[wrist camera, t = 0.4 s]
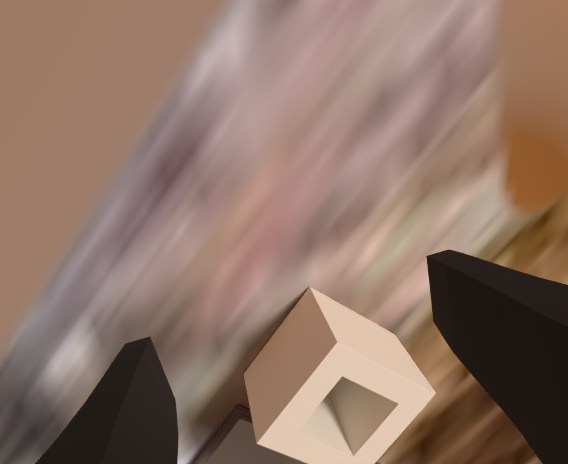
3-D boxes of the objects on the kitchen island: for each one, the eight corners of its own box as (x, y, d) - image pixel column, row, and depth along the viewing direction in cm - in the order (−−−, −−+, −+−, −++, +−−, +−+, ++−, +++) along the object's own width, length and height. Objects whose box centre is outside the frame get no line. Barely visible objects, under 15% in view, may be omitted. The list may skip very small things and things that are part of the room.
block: (394, 334, 25) (436, 393, 21) (329, 412, 27) (357, 483, 23) (309, 286, 23) (337, 342, 19) (243, 374, 25) (256, 443, 20)
